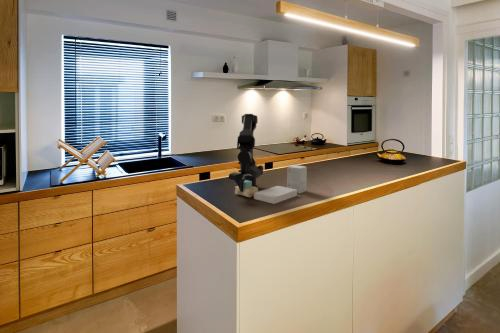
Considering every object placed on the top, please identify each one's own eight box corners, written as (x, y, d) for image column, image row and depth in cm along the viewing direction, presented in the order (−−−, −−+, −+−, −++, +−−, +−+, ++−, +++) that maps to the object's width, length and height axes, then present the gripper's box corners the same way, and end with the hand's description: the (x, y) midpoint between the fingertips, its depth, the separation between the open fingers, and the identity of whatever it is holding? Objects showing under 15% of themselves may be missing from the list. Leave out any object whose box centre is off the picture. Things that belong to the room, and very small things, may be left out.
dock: (253, 198, 151) (253, 192, 150) (277, 191, 164) (277, 185, 163) (273, 203, 143) (274, 197, 142) (296, 195, 155) (297, 189, 155)
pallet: (235, 193, 158) (234, 186, 157) (243, 191, 162) (243, 184, 161) (249, 197, 151) (249, 190, 150) (258, 194, 155) (258, 187, 155)
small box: (306, 191, 163) (307, 166, 161) (299, 193, 159) (300, 168, 156) (293, 188, 169) (294, 164, 166) (286, 191, 164) (286, 166, 162)
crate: (240, 187, 156) (240, 181, 155) (245, 185, 159) (245, 180, 158) (246, 188, 153) (246, 182, 153) (251, 187, 156) (251, 181, 155)
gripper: (244, 164, 141) (245, 198, 144) (271, 159, 155) (271, 190, 158) (227, 161, 149) (228, 193, 152) (254, 156, 162) (254, 186, 165)
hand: (246, 191), depth 156 cm, fingers closed on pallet, 6 cm apart
